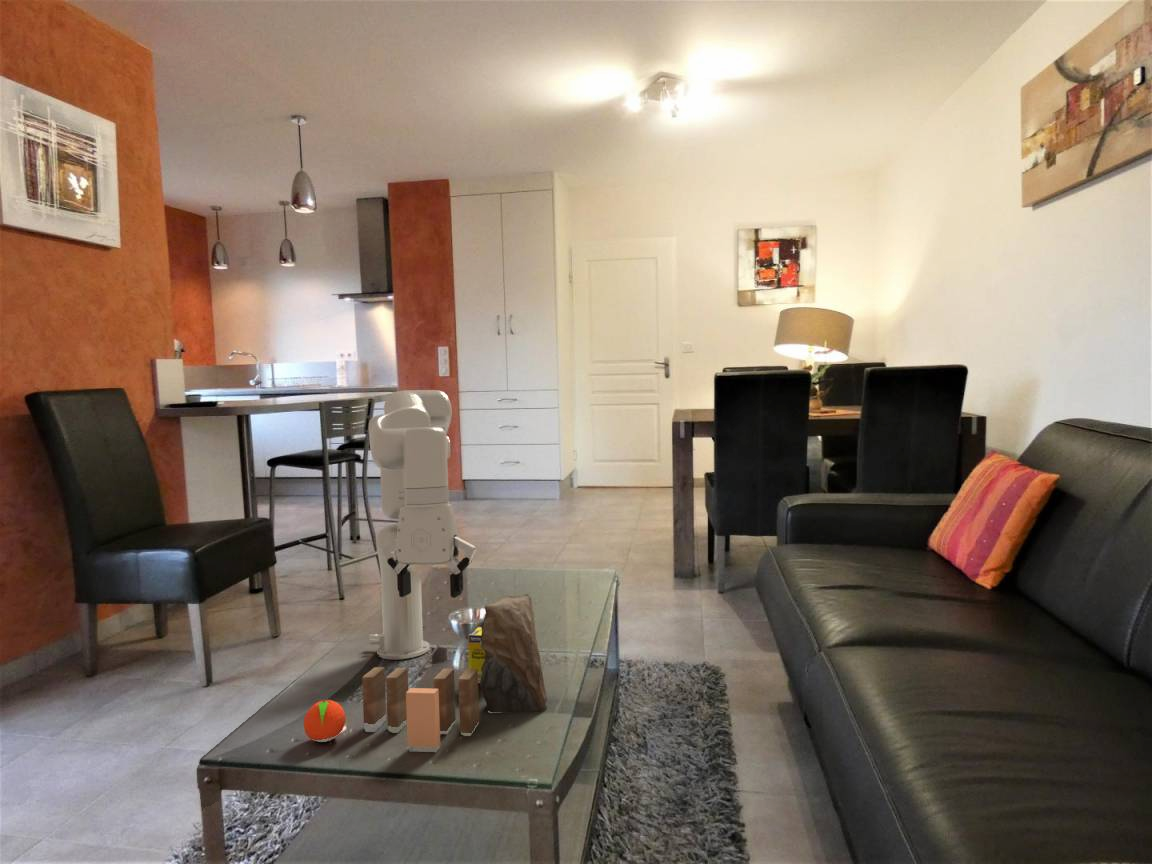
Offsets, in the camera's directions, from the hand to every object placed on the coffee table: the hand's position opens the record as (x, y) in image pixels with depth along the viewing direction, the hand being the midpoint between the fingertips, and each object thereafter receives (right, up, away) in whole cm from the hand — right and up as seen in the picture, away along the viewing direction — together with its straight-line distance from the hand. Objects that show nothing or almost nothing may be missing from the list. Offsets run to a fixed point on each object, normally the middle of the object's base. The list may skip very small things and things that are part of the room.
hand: (430, 595), depth 116 cm
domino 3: (0, -25, -4) cm, 25 cm away
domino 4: (+2, -25, +4) cm, 26 cm away
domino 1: (-11, -26, +6) cm, 29 cm away
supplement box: (+6, -25, +26) cm, 37 cm away
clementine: (-19, -26, 0) cm, 32 cm away
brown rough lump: (+14, -25, +14) cm, 32 cm away
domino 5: (+6, -25, +3) cm, 26 cm away
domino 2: (-7, -25, +5) cm, 27 cm away
